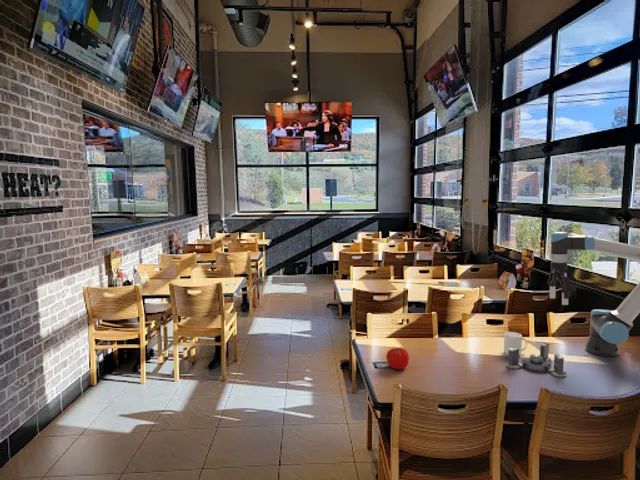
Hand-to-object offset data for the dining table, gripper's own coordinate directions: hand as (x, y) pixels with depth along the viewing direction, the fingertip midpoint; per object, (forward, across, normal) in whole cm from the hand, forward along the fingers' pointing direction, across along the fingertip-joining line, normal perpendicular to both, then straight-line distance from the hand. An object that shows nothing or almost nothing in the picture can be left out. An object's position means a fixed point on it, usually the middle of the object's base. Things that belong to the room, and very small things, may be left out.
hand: (558, 301), depth 228 cm
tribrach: (+29, +15, -20) cm, 38 cm away
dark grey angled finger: (+27, +15, -29) cm, 42 cm away
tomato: (+28, +17, -87) cm, 93 cm away
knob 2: (+28, +7, -10) cm, 31 cm away
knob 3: (+28, +24, -11) cm, 39 cm away
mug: (+29, -3, -21) cm, 36 cm away
